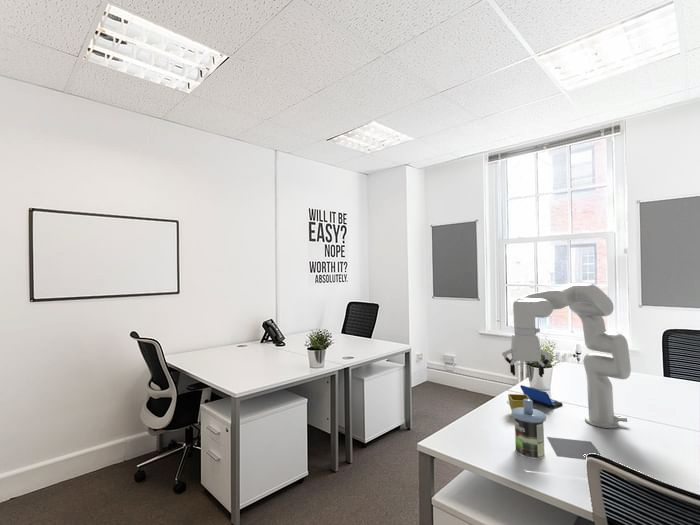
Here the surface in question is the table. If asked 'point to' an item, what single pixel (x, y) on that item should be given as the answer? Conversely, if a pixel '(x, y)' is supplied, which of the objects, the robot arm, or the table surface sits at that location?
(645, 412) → the table surface
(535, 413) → the lid
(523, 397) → the flower pot
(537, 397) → the handheld game console
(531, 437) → the coffee can
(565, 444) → the mat
